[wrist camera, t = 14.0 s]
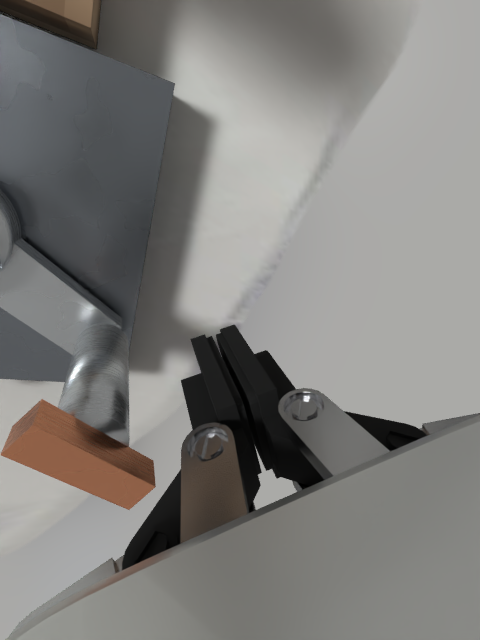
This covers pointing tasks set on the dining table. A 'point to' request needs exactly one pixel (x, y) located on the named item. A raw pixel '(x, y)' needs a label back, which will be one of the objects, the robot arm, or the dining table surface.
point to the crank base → (77, 175)
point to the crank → (72, 378)
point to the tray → (60, 17)
